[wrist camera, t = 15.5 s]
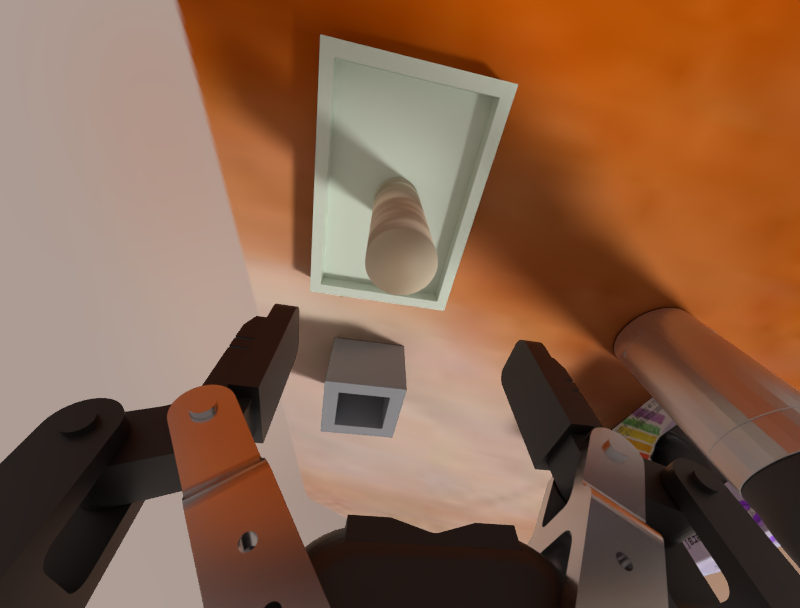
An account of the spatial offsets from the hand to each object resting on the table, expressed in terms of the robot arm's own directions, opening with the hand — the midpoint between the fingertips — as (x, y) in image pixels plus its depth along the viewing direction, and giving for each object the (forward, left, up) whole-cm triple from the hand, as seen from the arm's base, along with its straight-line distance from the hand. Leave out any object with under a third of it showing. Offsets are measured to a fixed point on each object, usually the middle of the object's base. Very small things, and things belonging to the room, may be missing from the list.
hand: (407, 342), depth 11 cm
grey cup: (0, +22, -21) cm, 30 cm away
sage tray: (0, 0, -21) cm, 21 cm away
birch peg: (0, 0, -20) cm, 20 cm away
